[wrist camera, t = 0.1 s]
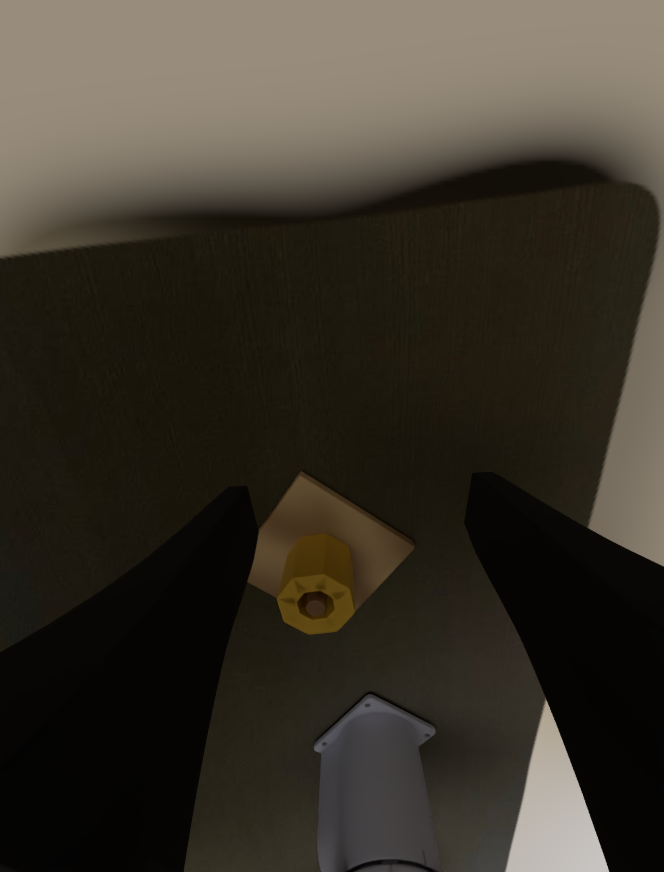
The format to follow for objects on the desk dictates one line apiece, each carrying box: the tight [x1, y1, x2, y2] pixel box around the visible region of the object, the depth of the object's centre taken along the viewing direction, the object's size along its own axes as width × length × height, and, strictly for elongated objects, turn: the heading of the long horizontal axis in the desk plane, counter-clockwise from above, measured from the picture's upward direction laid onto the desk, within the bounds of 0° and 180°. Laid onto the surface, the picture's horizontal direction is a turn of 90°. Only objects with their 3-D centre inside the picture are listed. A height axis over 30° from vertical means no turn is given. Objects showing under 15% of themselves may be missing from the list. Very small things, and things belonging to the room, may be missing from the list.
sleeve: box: [277, 533, 355, 635], centre depth 21 cm, size 5×5×4 cm
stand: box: [247, 471, 415, 616], centre depth 21 cm, size 10×10×5 cm
